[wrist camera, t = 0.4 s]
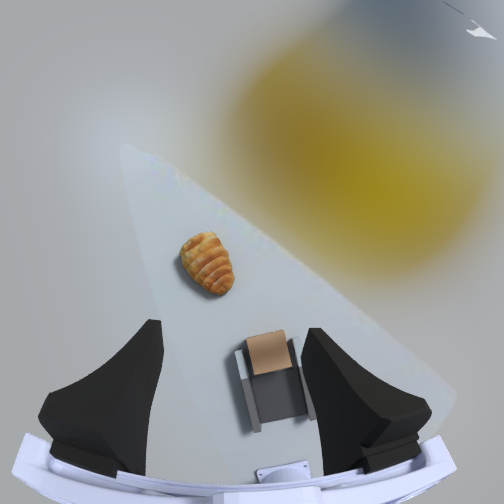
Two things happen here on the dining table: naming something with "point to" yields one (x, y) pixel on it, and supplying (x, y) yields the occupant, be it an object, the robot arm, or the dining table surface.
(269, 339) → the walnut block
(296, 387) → the grey i-beam block
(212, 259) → the pastry
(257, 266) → the dining table surface
